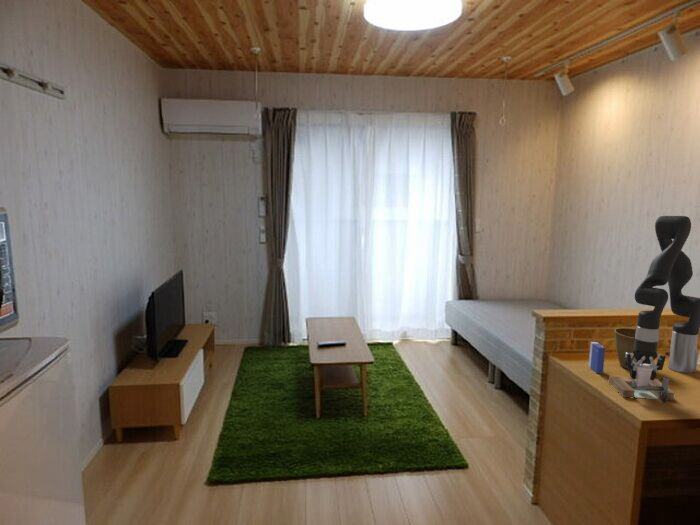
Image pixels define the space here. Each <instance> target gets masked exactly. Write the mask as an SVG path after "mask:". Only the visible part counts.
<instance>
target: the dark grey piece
mask: <svg viewBox="0 0 700 525" xmlns="http://www.w3.org/2000/svg"><path fill="white" fill-rule="evenodd" d="M661 381H662V382H661V383H662V386H643V385H637V382H635V381H632V388H633V389H637V390H656V391H661V397H660V400H659V401H660V402H662V403H667V401H668V400H667V393H668V388H669V384H670V379H669V378H667V377H662V380H661Z"/></svg>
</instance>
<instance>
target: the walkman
mask: <svg viewBox="0 0 700 525" xmlns="http://www.w3.org/2000/svg"><path fill="white" fill-rule="evenodd" d="M605 353H606V348H605V347H604V345H602V344H600V343H599V342H597V341H596V342H595V341H590V345H589V355H588V356H589V357H588V368H589V369H591V371H593V372H594V373H596V374H603V373H604V368H605V367H604V364H605V357H606V355H605Z"/></svg>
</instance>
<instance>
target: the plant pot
mask: <svg viewBox="0 0 700 525" xmlns="http://www.w3.org/2000/svg"><path fill="white" fill-rule="evenodd" d="M636 329H637V328H632V327H631V328H630V327H618V328H615V329H614V342H615V349H616V355H617V358H618V363H619V365H620V366H621V367H622V368H624V369H628V368H627V367H626V366H625V352H627V353H633V351H634V344H635V335H636ZM634 358H635V357H634V356H633V357H632V359H631V364H632V361H633V360H634ZM637 362H638V361H637ZM628 370H629V369H628Z"/></svg>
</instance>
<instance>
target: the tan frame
mask: <svg viewBox="0 0 700 525" xmlns="http://www.w3.org/2000/svg"><path fill="white" fill-rule="evenodd" d="M632 381H635V379H632V378H631V377H630V376H628V377H627V376H625V377H624V376H612V375H611V376H609V378H608V384H609V383H610V384H609V385H610V386H611V385H612V386H613V387H614V388H615V389H616V390H617V391H618V392H619V393H620V394H621V395H622V396H621V395H620V394H619V393H618V392H617V391H616V390H615V389H614V388H613V387H612V386H611V387H612V388H613V389H614V390H615V391H616V392H617V393H618V394H619V395H620V396H621V397H622V398H624V397H633V398H632V399H635V398H634V392H635V391H634V390H633V389H632ZM648 386H662V382H661V381H660V380H659V379H658V378H655V379H654V380H651V379H650V380H649V384H648ZM649 391H650V392H651V393H653V394H654V395H655V396H656V397H657V398H658V399H657V400H659V401H660V397H661V391H656V390H649ZM674 396H675V392H673V390H672V389H670V387H668V393H667V401H674V400H675V397H674Z"/></svg>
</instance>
